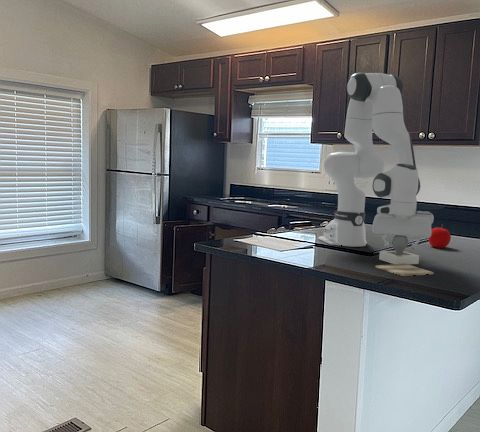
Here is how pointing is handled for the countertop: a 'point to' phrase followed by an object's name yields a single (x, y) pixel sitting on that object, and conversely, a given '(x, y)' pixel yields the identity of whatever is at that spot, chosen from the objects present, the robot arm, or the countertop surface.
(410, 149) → the robot arm
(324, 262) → the countertop surface
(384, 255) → the socket
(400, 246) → the light bulb
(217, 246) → the countertop surface
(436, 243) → the fruit
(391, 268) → the board
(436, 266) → the countertop surface
